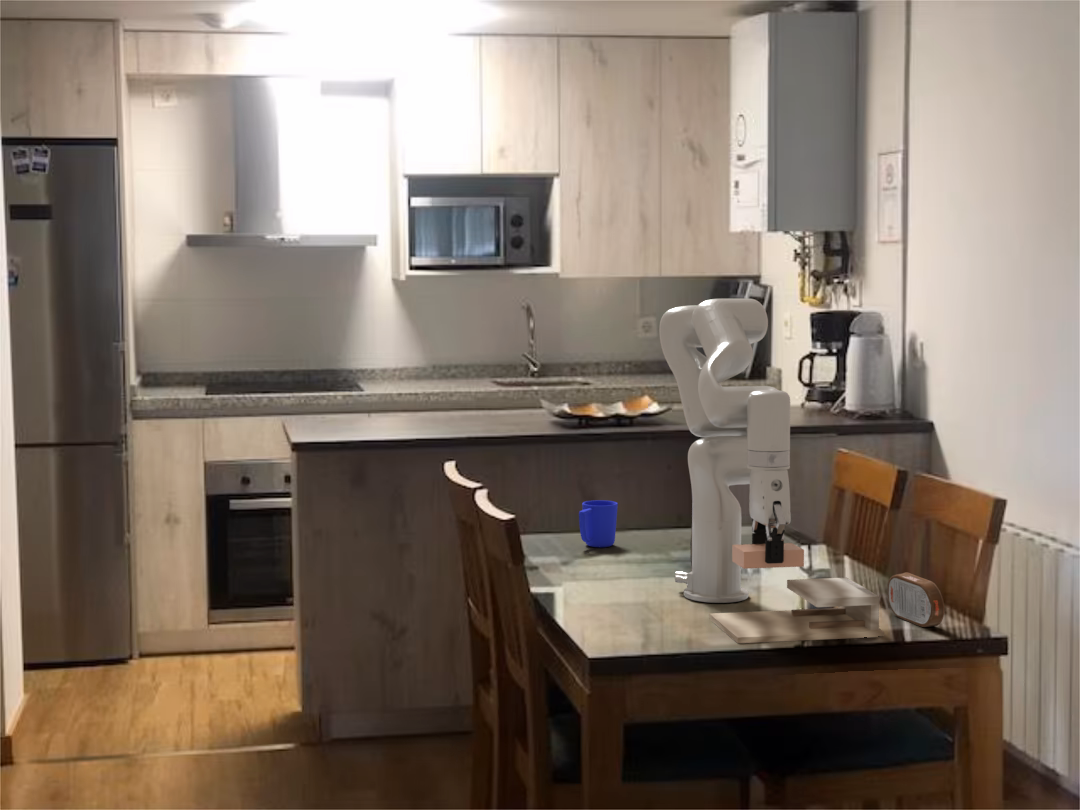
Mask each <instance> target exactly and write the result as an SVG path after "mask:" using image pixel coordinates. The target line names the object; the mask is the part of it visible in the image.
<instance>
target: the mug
mask: <svg viewBox="0 0 1080 810" xmlns="http://www.w3.org/2000/svg"><path fill="white" fill-rule="evenodd" d="M581 505H582V508H581V509H582V510H579V512H578V522H579V523H578V524H579V532H580V537H581V540H582V541H583V542H584V543H585V544H586V545H587V546H588V547H590V548H591V547H592V548H608V547H612V546H613V545H614V544H615V541H616V532H617V531H616V530H617V529H616V528H617V517H618V502H616V501H613V500H605V499H604V500H603V499H602V500H601V499H600V500H599V499H598V500H596V499H595V500H586V501H583V502H582V504H581Z"/></svg>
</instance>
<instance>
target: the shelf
mask: <svg viewBox="0 0 1080 810" xmlns="http://www.w3.org/2000/svg"><path fill="white" fill-rule="evenodd" d="M786 588H787V589H788V590H790V591H791V592H792V593H794V594H796V595H797V596H798V597H800V598H802V600H803V599H804V600H805V601H806V602H808V603H809V604H811V605H813V606H814V607H816V608H805V609H804V608H802V609H799V608H798V609H789V610H767V611H765V610H763V611H761V610H760V611H740V612H717V613H714V612H713V613H709V614H708V615H709V616H708V619H709V620H710V621H711V622H712V623H714V625H716V626H717V627H718V628H719V629H720V630H721V631H723V632H724V633H725V634H726V635H727V636H729V637H730V639H732V640H733V641H734V642H736V643H737V644H748V643H749V644H752V643H754V644H755V643H769V642H770V643H773V642H794V641H795V642H796V641H798V642H799V641H816V640H818V641H819V640H820V641H821V640H838V639H839V640H841V639H860V638H864V637H867V638H879V637H878V636H885V635H884V633H885V631H884V630H883V629H881V628H880V596H879V595H878V594H876V593H874V592H872V590H871V591H870V589H868V588H866V587H864V586H862V585H861V584H859V583H857V582H855V581H853V580H851V579H849V578H848V577H826V578H825V577H824V578H798V579H787V580H786Z"/></svg>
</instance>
